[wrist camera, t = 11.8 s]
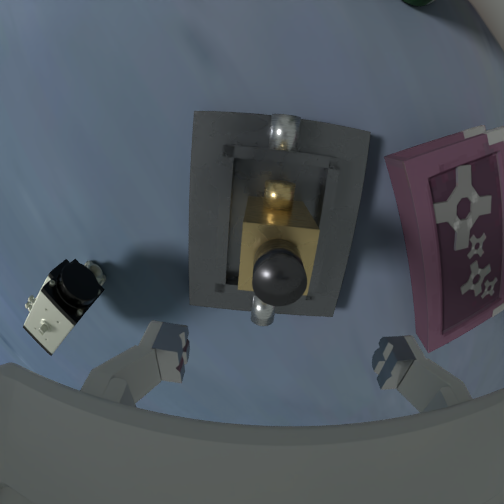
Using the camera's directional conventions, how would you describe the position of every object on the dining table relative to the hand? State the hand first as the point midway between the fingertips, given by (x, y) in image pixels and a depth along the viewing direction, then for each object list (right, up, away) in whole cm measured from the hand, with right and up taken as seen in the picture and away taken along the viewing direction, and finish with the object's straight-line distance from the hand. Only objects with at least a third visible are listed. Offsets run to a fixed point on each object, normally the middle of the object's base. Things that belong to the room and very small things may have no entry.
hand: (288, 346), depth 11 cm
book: (+24, +6, +18) cm, 31 cm away
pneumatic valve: (-22, +1, +21) cm, 30 cm away
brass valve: (0, +6, +15) cm, 17 cm away
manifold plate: (+1, +7, +17) cm, 19 cm away
